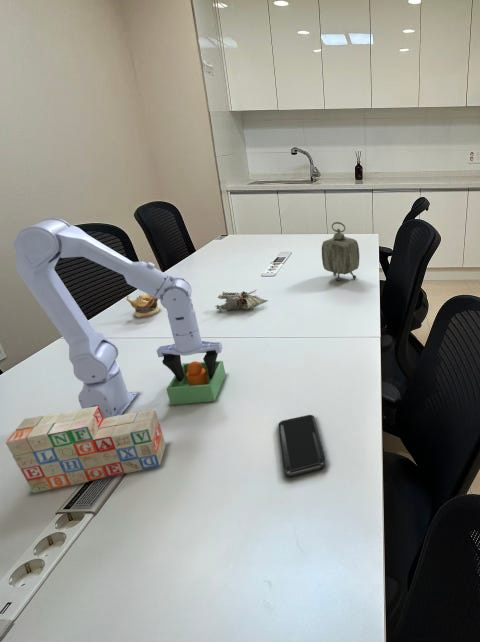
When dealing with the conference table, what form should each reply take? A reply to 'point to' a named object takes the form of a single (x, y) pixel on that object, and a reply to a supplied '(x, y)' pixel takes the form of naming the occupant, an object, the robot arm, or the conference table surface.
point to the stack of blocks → (85, 446)
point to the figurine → (239, 301)
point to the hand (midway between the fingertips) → (197, 378)
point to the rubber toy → (196, 374)
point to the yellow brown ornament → (144, 305)
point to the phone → (301, 446)
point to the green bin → (196, 386)
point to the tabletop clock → (340, 254)
